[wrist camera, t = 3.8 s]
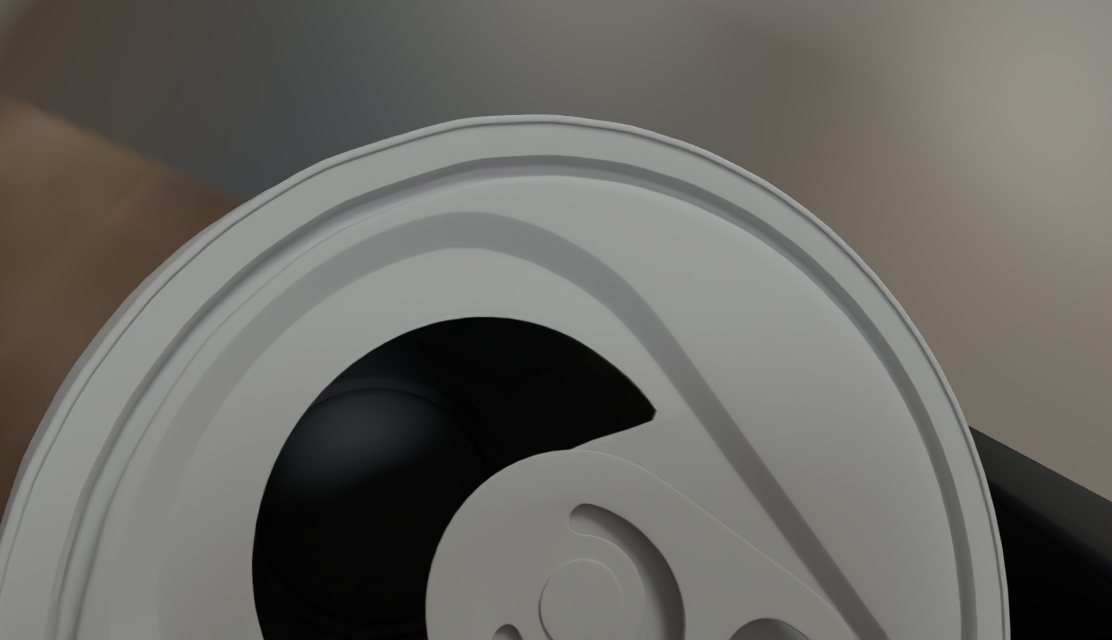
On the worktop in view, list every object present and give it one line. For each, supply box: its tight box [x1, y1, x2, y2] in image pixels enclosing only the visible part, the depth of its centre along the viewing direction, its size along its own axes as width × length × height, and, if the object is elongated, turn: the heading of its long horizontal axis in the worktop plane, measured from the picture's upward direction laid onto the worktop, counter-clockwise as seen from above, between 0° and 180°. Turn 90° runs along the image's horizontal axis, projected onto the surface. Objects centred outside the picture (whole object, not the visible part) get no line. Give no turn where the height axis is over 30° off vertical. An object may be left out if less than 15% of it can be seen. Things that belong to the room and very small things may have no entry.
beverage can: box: [0, 115, 1010, 640], centre depth 10 cm, size 6×6×12 cm
